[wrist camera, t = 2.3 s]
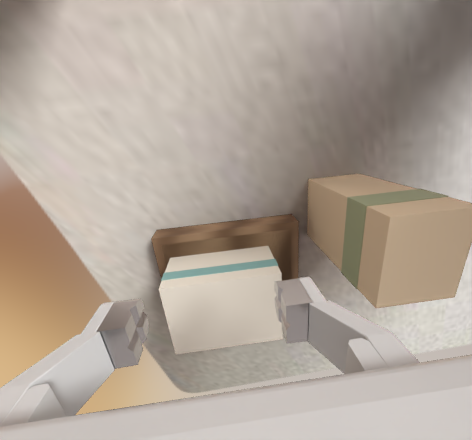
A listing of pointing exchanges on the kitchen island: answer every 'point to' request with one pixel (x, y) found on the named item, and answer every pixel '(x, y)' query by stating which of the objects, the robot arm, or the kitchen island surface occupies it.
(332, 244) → the slim carton
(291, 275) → the brown wooden tray
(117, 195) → the kitchen island surface
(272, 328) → the wide carton
